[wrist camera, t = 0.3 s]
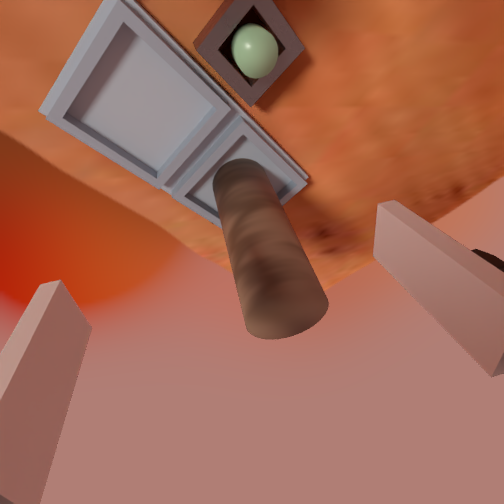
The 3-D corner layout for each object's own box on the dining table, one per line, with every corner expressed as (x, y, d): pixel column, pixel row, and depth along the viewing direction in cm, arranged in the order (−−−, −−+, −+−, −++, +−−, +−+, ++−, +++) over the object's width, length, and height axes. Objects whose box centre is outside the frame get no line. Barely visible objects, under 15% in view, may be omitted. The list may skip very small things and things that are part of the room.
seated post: (240, 146, 35) (295, 276, 22) (277, 180, 40) (343, 306, 26) (200, 187, 38) (227, 326, 24) (239, 215, 42) (281, 346, 29)
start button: (251, 11, 26) (259, 17, 24) (277, 46, 28) (286, 54, 26) (222, 47, 27) (227, 55, 26) (249, 78, 30) (256, 87, 28)
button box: (246, -29, 26) (254, -26, 24) (294, 40, 30) (305, 48, 28) (192, 42, 29) (196, 50, 26) (244, 96, 33) (250, 107, 31)
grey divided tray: (115, -20, 25) (112, -17, 23) (305, 172, 41) (312, 183, 40) (41, 106, 29) (33, 117, 28) (238, 232, 46) (241, 244, 44)
